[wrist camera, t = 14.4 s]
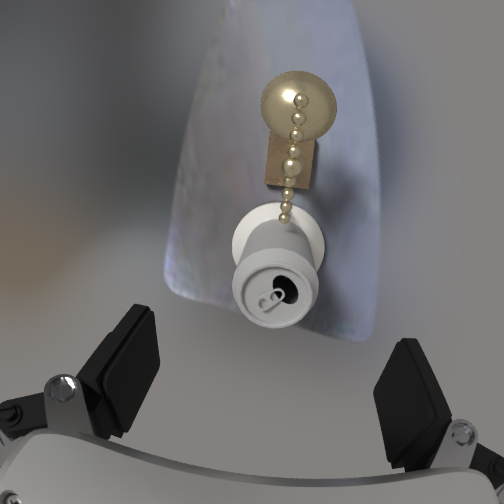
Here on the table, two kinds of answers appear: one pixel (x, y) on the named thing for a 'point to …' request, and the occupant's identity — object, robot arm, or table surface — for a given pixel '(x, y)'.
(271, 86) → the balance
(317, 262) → the white rounded disc
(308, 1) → the table surface
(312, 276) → the can
